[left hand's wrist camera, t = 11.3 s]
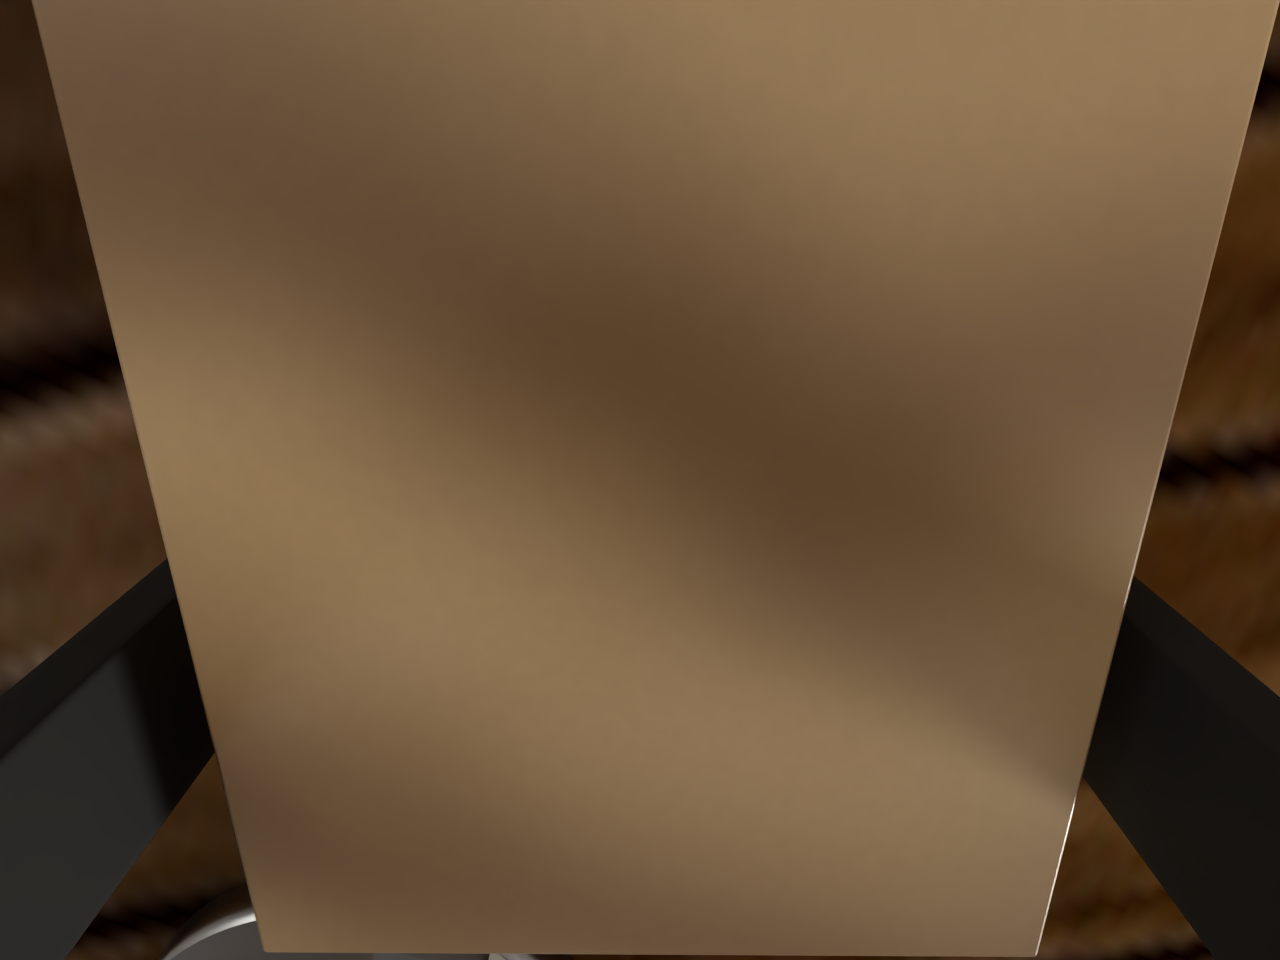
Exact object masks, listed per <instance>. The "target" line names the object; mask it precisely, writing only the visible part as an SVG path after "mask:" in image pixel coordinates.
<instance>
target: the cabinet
mask: <svg viewBox="0 0 1280 960" xmlns="http://www.w3.org/2000/svg"><path fill="white" fill-rule="evenodd" d="M1279 2H1280V0H32V4H33V8H34V12H35V17H36V21H37V25H38V29H39V33H40V37H41V41H42V45H43V49H44V53H45V58H46V62H47V66H48V70H49V74H50V78H51V82H52V86H53V90H54V94H55V99H56V103H57V107H58V111H59V115H60V119H61V123H62V127H63V131H64V135H65V140H66V144H67V148H68V152H69V156H70V160H71V164H72V168H73V172H74V176H75V180H76V185H77V189H78V193H79V197H80V201H81V205H82V209H83V213H84V217H85V221H86V226H87V230H88V234H89V238H90V242H91V246H92V250H93V254H94V258H95V262H96V267H97V271H98V275H99V279H100V283H101V287H102V291H103V295H104V299H105V303H106V308H107V312H108V316H109V320H110V324H111V328H112V332H113V336H114V340H115V344H116V349H117V353H118V357H119V361H120V365H121V369H122V373H123V377H124V381H125V385H126V390H127V394H128V398H129V402H130V406H131V410H132V414H133V418H134V422H135V426H136V431H137V435H138V439H139V443H140V447H141V451H142V455H143V459H144V463H145V467H146V471H147V476H148V480H149V484H150V488H151V492H152V496H153V500H154V504H155V508H156V512H157V517H158V521H159V525H160V529H161V533H162V537H163V541H164V545H165V549H166V553H167V558H168V562H169V566H170V570H171V574H172V578H173V582H174V586H175V590H176V594H177V599H178V603H179V607H180V611H181V615H182V619H183V623H184V627H185V631H186V635H187V640H188V644H189V648H190V652H191V656H192V660H193V664H194V668H195V672H196V676H197V681H198V685H199V689H200V693H201V697H202V701H203V705H204V709H205V713H206V717H207V722H208V726H209V730H210V734H211V738H212V742H213V746H214V750H215V754H216V758H217V762H218V767H219V771H220V775H221V779H222V783H223V787H224V791H225V795H226V799H227V803H228V808H229V812H230V816H231V820H232V824H233V828H234V832H235V836H236V840H237V844H238V849H239V853H240V857H241V861H242V865H243V869H244V873H245V877H246V881H247V885H248V890H249V894H250V898H251V902H252V906H253V910H254V914H255V918H256V922H257V926H258V931H259V935H260V939H261V943H262V947H263V950H264V952H288V953H460V954H632V955H804V956H975V957H1034V956H1036V955H1037V952H1038V948H1039V944H1040V940H1041V936H1042V933H1043V929H1044V925H1045V921H1046V917H1047V913H1048V909H1049V905H1050V901H1051V897H1052V893H1053V889H1054V885H1055V881H1056V878H1057V874H1058V870H1059V866H1060V862H1061V858H1062V854H1063V850H1064V846H1065V842H1066V838H1067V834H1068V830H1069V826H1070V823H1071V819H1072V815H1073V811H1074V807H1075V803H1076V799H1077V795H1078V791H1079V787H1080V783H1081V779H1082V775H1083V772H1084V768H1085V764H1086V760H1087V756H1088V752H1089V748H1090V744H1091V740H1092V736H1093V732H1094V728H1095V724H1096V720H1097V717H1098V713H1099V709H1100V705H1101V701H1102V697H1103V693H1104V689H1105V685H1106V681H1107V677H1108V673H1109V669H1110V665H1111V662H1112V658H1113V654H1114V650H1115V646H1116V642H1117V638H1118V634H1119V630H1120V626H1121V622H1122V618H1123V614H1124V610H1125V607H1126V603H1127V599H1128V595H1129V591H1130V587H1131V583H1132V579H1133V575H1134V571H1135V567H1136V563H1137V559H1138V556H1139V552H1140V548H1141V544H1142V540H1143V536H1144V532H1145V528H1146V524H1147V520H1148V516H1149V512H1150V508H1151V504H1152V501H1153V497H1154V493H1155V489H1156V485H1157V481H1158V477H1159V473H1160V469H1161V465H1162V461H1163V457H1164V453H1165V449H1166V446H1167V442H1168V438H1169V434H1170V430H1171V426H1172V422H1173V418H1174V414H1175V410H1176V406H1177V402H1178V398H1179V395H1180V391H1181V387H1182V383H1183V379H1184V375H1185V371H1186V367H1187V363H1188V359H1189V355H1190V351H1191V347H1192V343H1193V340H1194V336H1195V332H1196V328H1197V324H1198V320H1199V316H1200V312H1201V308H1202V304H1203V300H1204V296H1205V292H1206V288H1207V285H1208V281H1209V277H1210V273H1211V269H1212V265H1213V261H1214V257H1215V253H1216V249H1217V245H1218V241H1219V237H1220V234H1221V230H1222V226H1223V222H1224V218H1225V214H1226V210H1227V206H1228V202H1229V198H1230V194H1231V190H1232V186H1233V182H1234V179H1235V175H1236V171H1237V167H1238V163H1239V159H1240V155H1241V151H1242V147H1243V143H1244V139H1245V135H1246V131H1247V127H1248V124H1249V120H1250V116H1251V112H1252V108H1253V104H1254V100H1255V96H1256V92H1257V88H1258V84H1259V80H1260V76H1261V72H1262V69H1263V65H1264V61H1265V57H1266V53H1267V49H1268V45H1269V41H1270V37H1271V33H1272V29H1273V25H1274V21H1275V18H1276V14H1277V10H1278V6H1279Z"/></svg>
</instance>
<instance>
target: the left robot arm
mask: <svg viewBox="0 0 1280 960" xmlns="http://www.w3.org/2000/svg"><path fill="white" fill-rule="evenodd" d="M214 753H215V750H214V746H213V742H212V738H211V734H210V730H209V726H208V722H207V717H206V713H205V709H204V705H203V701H202V697H201V693H200V689H199V685H198V681H197V676H196V672H195V668H194V664H193V660H192V656H191V652H190V648H189V644H188V640H187V635H186V631H185V627H184V623H183V619H182V615H181V611H180V607H179V603H178V599H177V594H176V590H175V586H174V582H173V578H172V574H171V570H170V566H169V562H168V558H167V559H166V560H165V561H164V562H162V563H161V564H160V565H159V566H158V567H156V568H155V569H154V570H153V571H152V572H150V573H149V574H148V575H147V576H146V577H144V578H143V579H142V580H141V581H140V582H138V583H137V584H136V585H135V586H134V587H132V588H131V589H130V590H129V591H128V592H126V593H125V594H124V595H123V596H121V597H120V598H119V599H118V600H117V601H115V602H114V603H113V604H112V605H111V606H109V607H108V608H107V609H106V610H105V611H103V612H102V613H101V614H100V615H99V616H97V617H96V618H95V619H94V620H93V621H91V622H90V623H89V624H88V625H87V626H85V627H84V628H83V629H82V630H81V631H79V632H78V633H77V634H76V635H75V636H73V637H72V638H71V639H70V640H69V641H67V642H66V643H65V644H64V645H63V646H61V647H60V648H59V649H58V650H56V651H55V652H54V653H53V654H52V655H50V656H49V657H48V658H47V659H46V660H44V661H43V662H42V663H41V664H40V665H38V666H37V667H36V668H35V669H34V670H32V671H31V672H30V673H29V674H28V675H26V676H25V677H24V678H23V679H22V680H20V681H19V682H18V683H17V684H16V685H14V686H13V687H12V688H11V689H10V690H8V691H7V692H6V693H5V694H4V695H2V696H1V697H0V960H64V959H65V958H66V957H67V955H68V954H69V952H70V951H71V950H72V948H73V947H74V946H75V944H76V943H77V941H78V940H79V939H80V937H81V936H82V935H83V933H84V932H85V930H86V929H87V928H88V926H89V925H90V924H91V922H92V921H93V919H94V918H95V917H96V915H97V914H98V913H99V911H100V910H101V908H102V907H103V906H104V904H105V903H106V901H107V900H108V899H109V897H110V896H111V895H112V893H113V892H114V890H115V889H116V888H117V886H118V885H119V884H120V882H121V881H122V879H123V878H124V877H125V875H126V874H127V873H128V871H129V870H130V868H131V867H132V866H133V864H134V863H135V861H136V860H137V859H138V857H139V856H140V855H141V853H142V852H143V850H144V849H145V848H146V846H147V845H148V844H149V842H150V841H151V839H152V838H153V837H154V835H155V834H156V833H157V831H158V830H159V828H160V827H161V826H162V824H163V823H164V821H165V820H166V819H167V817H168V816H169V815H170V813H171V812H172V810H173V809H174V808H175V806H176V805H177V804H178V802H179V801H180V799H181V798H182V797H183V795H184V794H185V793H186V791H187V790H188V788H189V787H190V786H191V784H192V783H193V781H194V780H195V779H196V777H197V776H198V775H199V773H200V772H201V770H202V769H203V768H204V766H205V765H206V764H207V762H208V761H209V759H210V758H211V757H212V755H213V754H214ZM1082 776H1083V777H1084V779H1085V780H1086V781H1087V783H1088V784H1089V786H1090V787H1091V788H1092V790H1093V791H1094V793H1095V794H1096V795H1097V797H1098V798H1099V799H1100V801H1101V802H1102V804H1103V805H1104V806H1105V808H1106V809H1107V810H1108V812H1109V813H1110V815H1111V816H1112V817H1113V819H1114V820H1115V821H1116V823H1117V824H1118V826H1119V827H1120V828H1121V830H1122V831H1123V833H1124V834H1125V835H1126V837H1127V838H1128V839H1129V841H1130V842H1131V844H1132V845H1133V846H1134V848H1135V849H1136V850H1137V852H1138V853H1139V855H1140V856H1141V857H1142V859H1143V860H1144V861H1145V863H1146V864H1147V866H1148V867H1149V868H1150V870H1151V871H1152V873H1153V874H1154V875H1155V877H1156V878H1157V879H1158V881H1159V882H1160V884H1161V885H1162V886H1163V888H1164V889H1165V890H1166V892H1167V893H1168V895H1169V896H1170V897H1171V899H1172V900H1173V901H1174V903H1175V904H1176V906H1177V907H1178V908H1179V910H1180V911H1181V913H1182V914H1183V915H1184V917H1185V918H1186V919H1187V921H1188V922H1189V924H1190V925H1191V926H1192V928H1193V929H1194V930H1195V932H1196V933H1197V935H1198V936H1199V937H1200V939H1201V940H1202V941H1203V943H1204V944H1205V946H1206V947H1207V948H1208V950H1209V951H1210V952H1211V954H1212V955H1213V957H1214V958H1215V959H1216V960H1280V697H1279V696H1278V695H1276V694H1275V693H1274V692H1273V691H1272V690H1270V689H1269V688H1268V687H1267V686H1266V685H1264V684H1263V683H1262V682H1261V681H1260V680H1258V679H1257V678H1256V677H1255V676H1254V675H1252V674H1251V673H1250V672H1249V671H1248V670H1246V669H1245V668H1244V667H1243V666H1242V665H1240V664H1239V663H1238V662H1237V661H1236V660H1234V659H1233V658H1232V657H1231V656H1230V655H1228V654H1227V653H1226V652H1225V651H1224V650H1222V649H1221V648H1220V647H1219V646H1217V645H1216V644H1215V643H1214V642H1213V641H1211V640H1210V639H1209V638H1208V637H1207V636H1205V635H1204V634H1203V633H1202V632H1201V631H1199V630H1198V629H1197V628H1196V627H1195V626H1193V625H1192V624H1191V623H1190V622H1189V621H1187V620H1186V619H1185V618H1184V617H1183V616H1181V615H1180V614H1179V613H1178V612H1177V611H1175V610H1174V609H1173V608H1172V607H1171V606H1169V605H1168V604H1167V603H1166V602H1165V601H1163V600H1162V599H1161V598H1160V597H1159V596H1157V595H1156V594H1155V593H1154V592H1152V591H1151V590H1150V589H1149V588H1148V587H1146V586H1145V585H1144V584H1143V583H1142V582H1140V581H1139V580H1138V579H1137V578H1136V577H1134V576H1133V579H1132V583H1131V587H1130V591H1129V595H1128V599H1127V603H1126V607H1125V610H1124V614H1123V618H1122V622H1121V626H1120V630H1119V634H1118V638H1117V642H1116V646H1115V650H1114V654H1113V658H1112V662H1111V665H1110V669H1109V673H1108V677H1107V681H1106V685H1105V689H1104V693H1103V697H1102V701H1101V705H1100V709H1099V713H1098V717H1097V720H1096V724H1095V728H1094V732H1093V736H1092V740H1091V744H1090V748H1089V752H1088V756H1087V760H1086V764H1085V768H1084V772H1083V775H1082ZM158 960H572V958H571V957H570V956H569V955H568V954H460V953H288V952H264V950H263V947H262V943H261V939H260V935H259V931H258V926H257V922H256V918H255V914H254V910H253V906H252V902H251V898H250V894H249V890H248V885H247V883H245V884H243V885H241V886H238V887H236V888H234V889H232V890H230V891H228V892H226V893H224V894H222V895H220V896H219V897H217V898H215V899H214V900H212V901H210V902H209V903H207V904H206V905H205V906H203V907H202V908H201V909H199V910H198V911H197V912H196V913H194V914H193V915H192V916H191V917H190V918H189V919H188V920H187V921H186V922H185V923H184V924H183V925H182V926H181V927H180V928H179V929H178V931H177V932H176V933H175V935H174V936H173V937H172V939H171V940H170V941H169V943H168V945H167V946H166V948H165V950H164V951H163V953H162V954H161V956H160V958H159V959H158Z"/></svg>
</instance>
